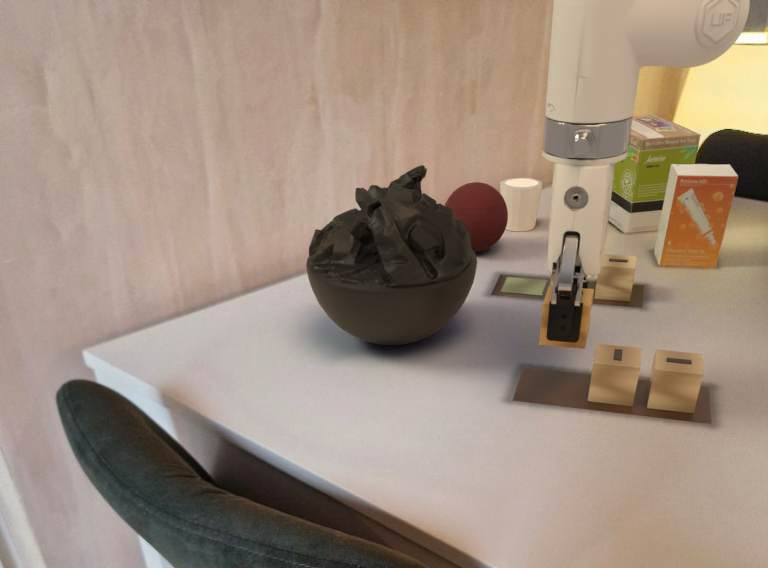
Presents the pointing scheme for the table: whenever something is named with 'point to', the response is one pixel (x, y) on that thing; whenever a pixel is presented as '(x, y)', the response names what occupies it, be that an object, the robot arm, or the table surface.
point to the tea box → (648, 171)
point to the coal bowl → (392, 264)
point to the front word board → (578, 393)
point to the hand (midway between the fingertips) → (565, 327)
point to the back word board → (608, 289)
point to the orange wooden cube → (585, 320)
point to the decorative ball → (480, 213)
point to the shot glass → (521, 202)
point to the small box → (695, 214)
